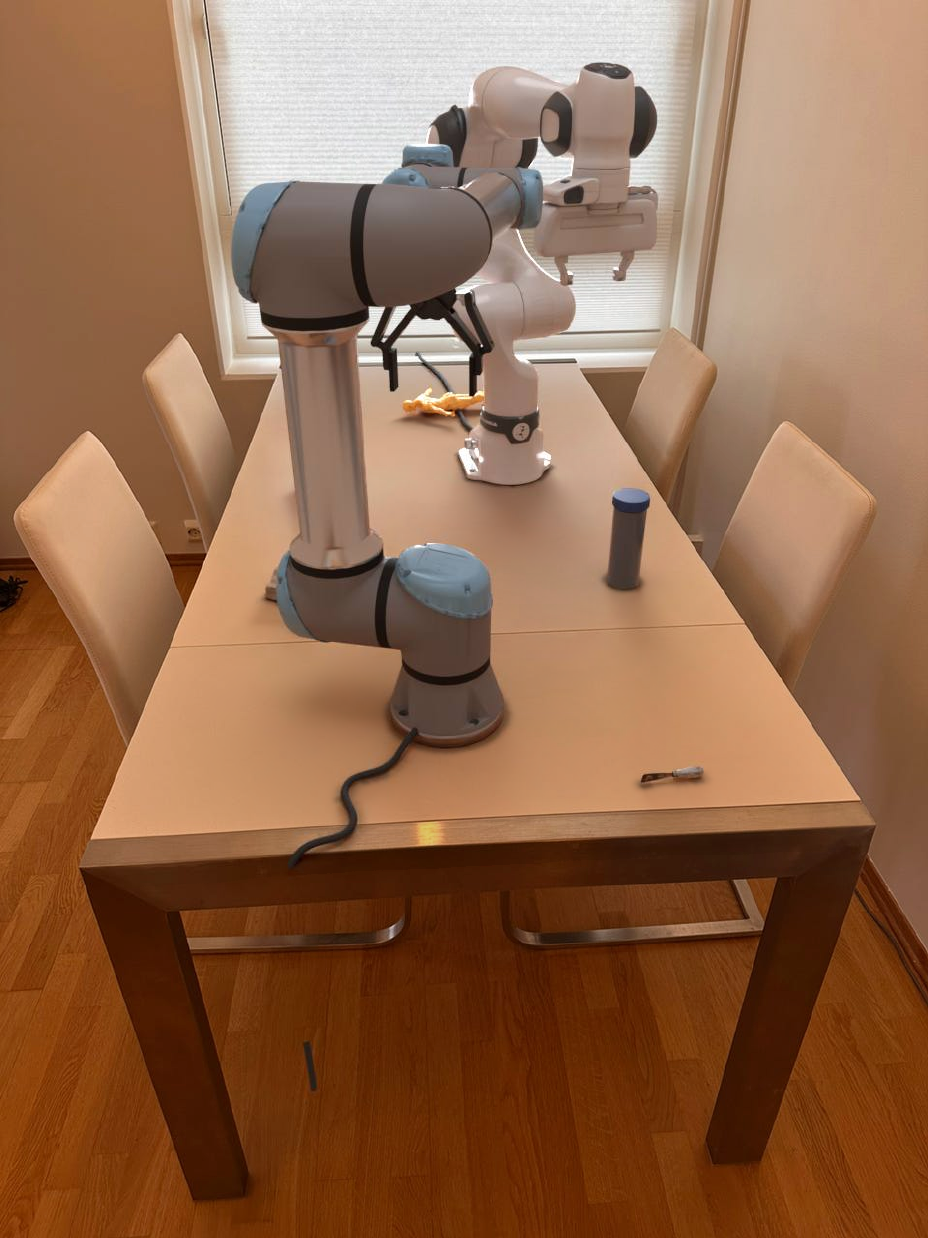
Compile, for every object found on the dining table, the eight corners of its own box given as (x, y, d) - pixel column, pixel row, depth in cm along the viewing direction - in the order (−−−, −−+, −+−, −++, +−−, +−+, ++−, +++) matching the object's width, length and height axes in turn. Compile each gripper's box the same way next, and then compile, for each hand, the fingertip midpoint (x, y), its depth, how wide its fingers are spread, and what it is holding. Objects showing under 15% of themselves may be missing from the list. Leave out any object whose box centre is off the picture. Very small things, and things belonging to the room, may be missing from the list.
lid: (656, 503, 144) (657, 494, 143) (637, 516, 140) (638, 506, 139) (624, 494, 147) (625, 484, 146) (604, 505, 143) (605, 496, 142)
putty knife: (703, 777, 109) (705, 767, 109) (642, 788, 108) (644, 777, 107) (700, 772, 110) (702, 762, 109) (639, 782, 109) (640, 771, 108)
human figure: (395, 413, 223) (394, 398, 221) (438, 390, 237) (438, 375, 235) (462, 429, 215) (462, 413, 213) (502, 404, 229) (503, 388, 227)
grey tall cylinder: (644, 580, 151) (654, 496, 143) (627, 592, 148) (637, 507, 140) (617, 570, 154) (625, 488, 146) (600, 582, 151) (608, 498, 143)
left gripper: (513, 255, 139) (510, 389, 150) (360, 249, 144) (368, 380, 155) (505, 264, 133) (502, 403, 144) (345, 258, 137) (355, 393, 149)
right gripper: (648, 182, 142) (640, 274, 149) (530, 188, 136) (527, 283, 143) (669, 187, 137) (659, 281, 144) (547, 193, 131) (543, 291, 138)
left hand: (433, 391), depth 149 cm, fingers open, 13 cm apart
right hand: (592, 282), depth 144 cm, fingers open, 8 cm apart
